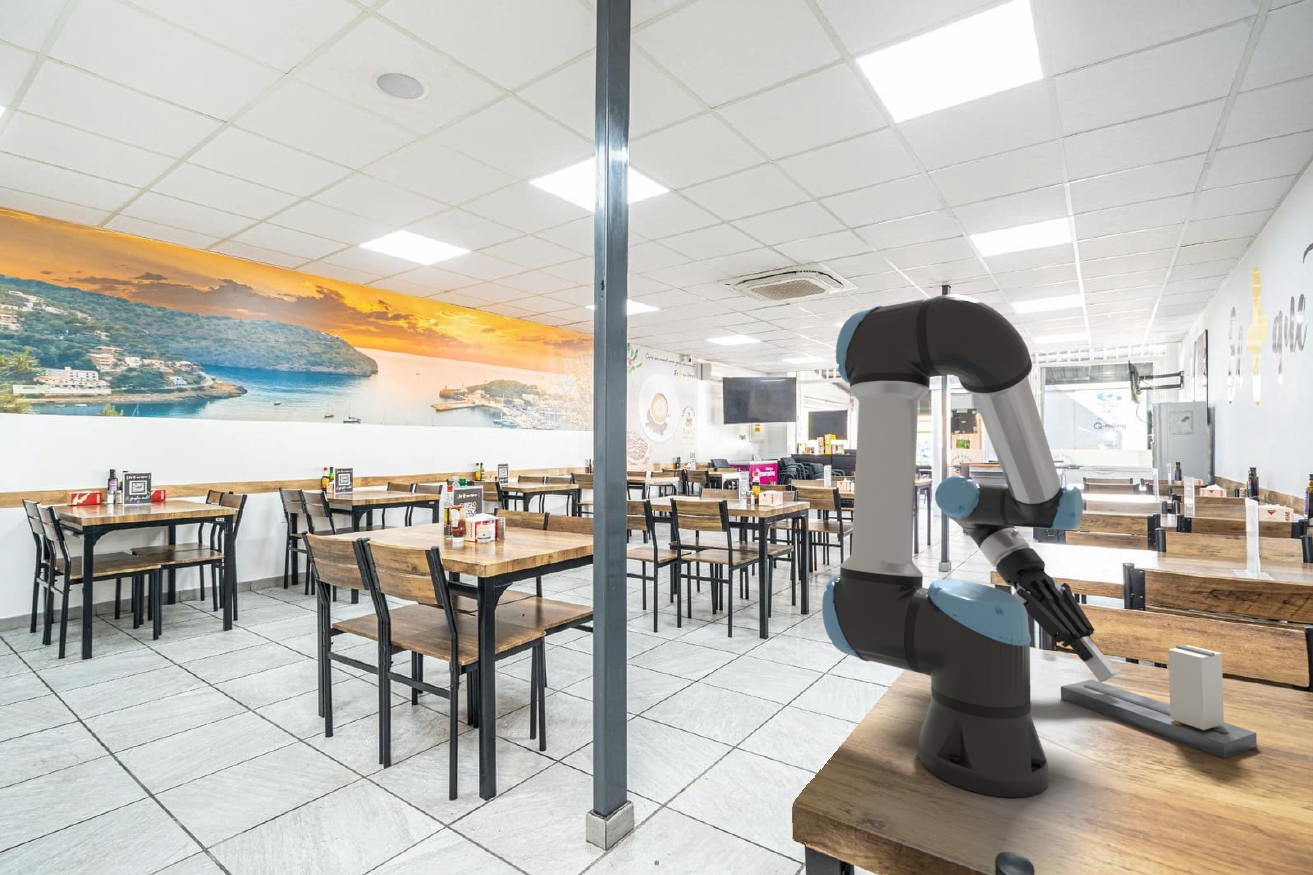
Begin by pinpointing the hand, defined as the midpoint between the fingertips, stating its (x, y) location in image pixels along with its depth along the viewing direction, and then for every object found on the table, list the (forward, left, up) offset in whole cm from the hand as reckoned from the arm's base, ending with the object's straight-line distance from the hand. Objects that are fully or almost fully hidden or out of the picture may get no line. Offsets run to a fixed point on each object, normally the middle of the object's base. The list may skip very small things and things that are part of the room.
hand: (1109, 677), depth 99 cm
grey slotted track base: (+3, -5, -5) cm, 7 cm away
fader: (+6, -10, -2) cm, 12 cm away
